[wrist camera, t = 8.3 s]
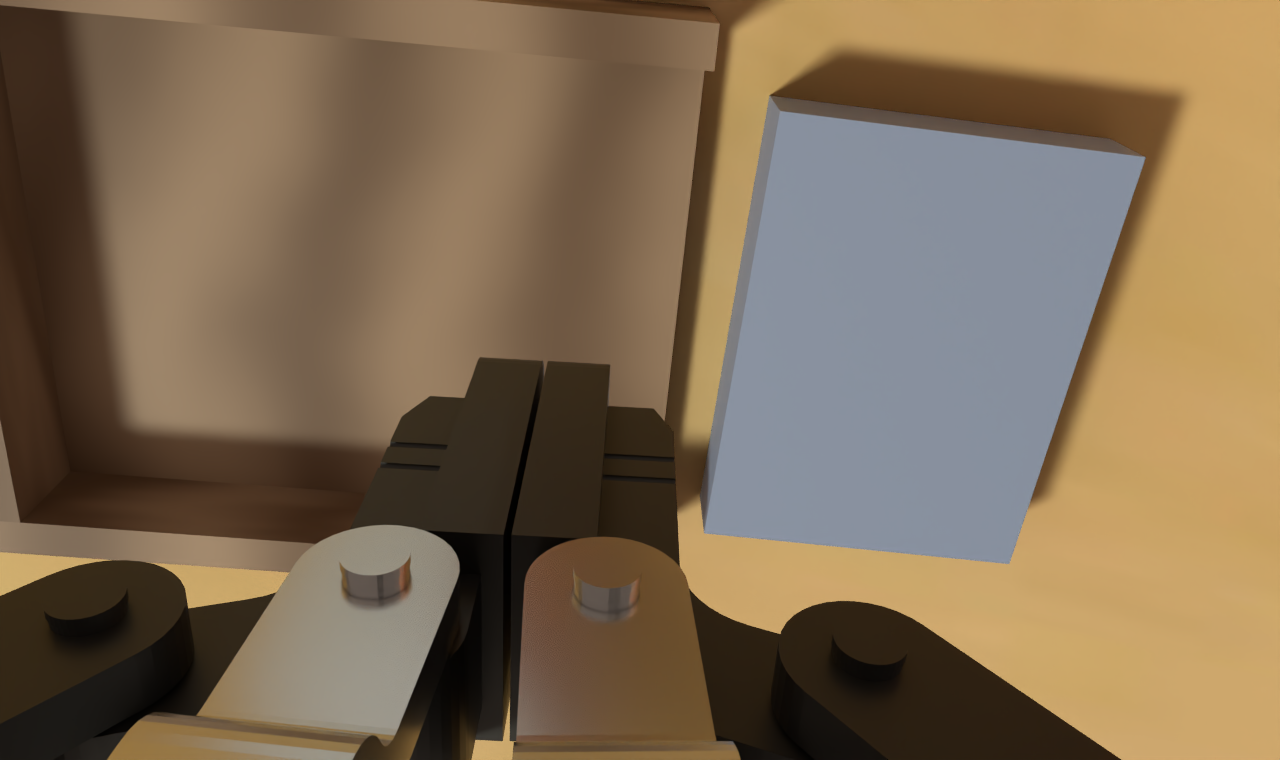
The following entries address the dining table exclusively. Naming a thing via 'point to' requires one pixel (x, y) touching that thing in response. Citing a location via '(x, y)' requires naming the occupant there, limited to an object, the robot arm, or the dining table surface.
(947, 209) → the cover plate
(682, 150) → the walnut tray
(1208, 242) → the dining table surface
